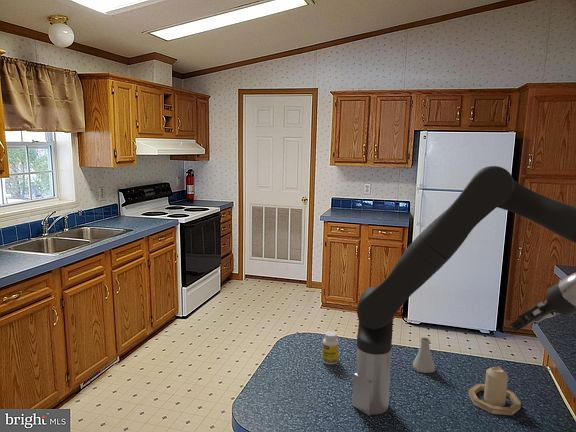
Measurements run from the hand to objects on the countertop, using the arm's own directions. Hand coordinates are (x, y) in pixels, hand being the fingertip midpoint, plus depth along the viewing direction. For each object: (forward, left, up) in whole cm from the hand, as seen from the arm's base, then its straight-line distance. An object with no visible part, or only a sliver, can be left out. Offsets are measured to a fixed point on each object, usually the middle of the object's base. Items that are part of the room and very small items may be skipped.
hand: (523, 324), depth 111 cm
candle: (0, +6, -25) cm, 26 cm away
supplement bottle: (-21, +51, -25) cm, 60 cm away
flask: (0, +29, -25) cm, 38 cm away
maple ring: (0, +6, -25) cm, 26 cm away
